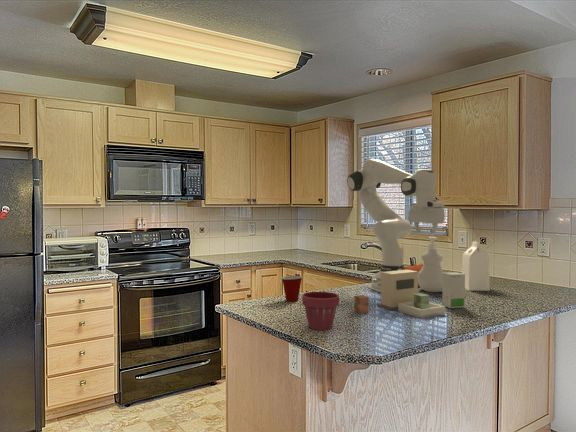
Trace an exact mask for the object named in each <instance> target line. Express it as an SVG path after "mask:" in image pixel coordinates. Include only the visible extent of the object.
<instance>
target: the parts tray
mask: <svg viewBox="0 0 576 432" xmlns="http://www.w3.org/2000/svg"><path fill="white" fill-rule="evenodd" d="M397 311H398V312H400V313H401V314H406V315H409V316H413V317H416V318H419V319H426V318H431V317H438V316H443V315H446V307H445V306H443V305H442V304H438V303H433V302H430V301H429V308H426V309H419V308H415V307H414V301H412V302H405V303H398V310H397Z"/></svg>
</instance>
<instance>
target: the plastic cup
mask: <svg viewBox="0 0 576 432" xmlns="http://www.w3.org/2000/svg"><path fill="white" fill-rule="evenodd" d="M280 279H281V282H282V285H283V290H284V296H285V300H286V302H291V303H292V302H293V303H294V302H295V303H296V302H298V300H299V297H300V292H301V286H302V285H301V284H302V280H303V276H302V275H288V276H281V277H280Z"/></svg>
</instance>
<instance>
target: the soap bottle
mask: <svg viewBox="0 0 576 432" xmlns="http://www.w3.org/2000/svg"><path fill="white" fill-rule="evenodd" d="M428 239H429V243H428V249H427V250H426V251H425V252H423V253H422V254H421V259H422V261H423V264H424V265H423V267H422V269H421V270H420V271H419V273H418V284H419V286H418V287H419V288H420V289H421V290H423V291H425V292H427V293H441V292H442V291H443V273H445V272H444V270H443V268H442V266H441V262H442V261H443V255H442V254H441V253H440V252H439V251H438V250H437V243H435V239H438V237H435V236H428Z"/></svg>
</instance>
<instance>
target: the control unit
mask: <svg viewBox="0 0 576 432" xmlns="http://www.w3.org/2000/svg"><path fill="white" fill-rule="evenodd" d="M418 288H419V286H418V271H413V270H397V271H387V272H381V292H380V302H379V303H377V304H376V306H377V307H378V308H381V309H384V310H387V311H392V312H393V311H398V303H405V302H412V301H414V294H419V293H418V292H419V289H418Z"/></svg>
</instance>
